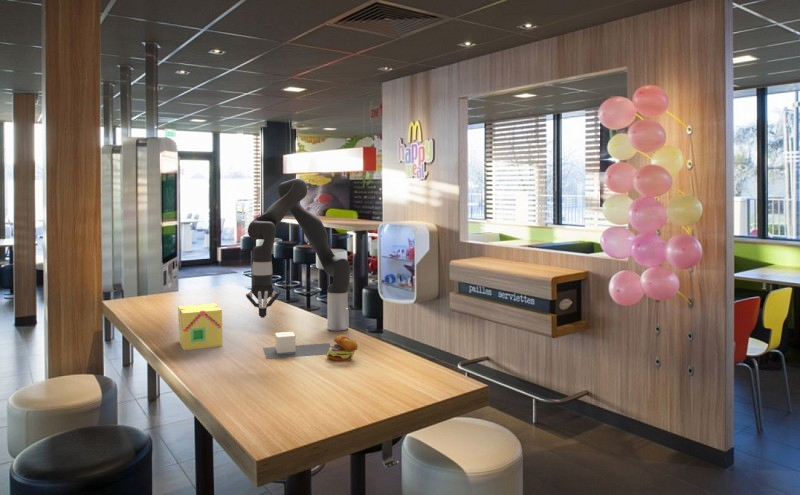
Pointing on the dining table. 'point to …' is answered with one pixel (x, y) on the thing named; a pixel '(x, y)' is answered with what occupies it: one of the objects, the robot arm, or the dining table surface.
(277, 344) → the cream cube
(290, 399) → the dining table surface
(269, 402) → the dining table surface
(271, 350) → the rubber mat
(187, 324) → the toy block
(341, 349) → the cheeseburger
